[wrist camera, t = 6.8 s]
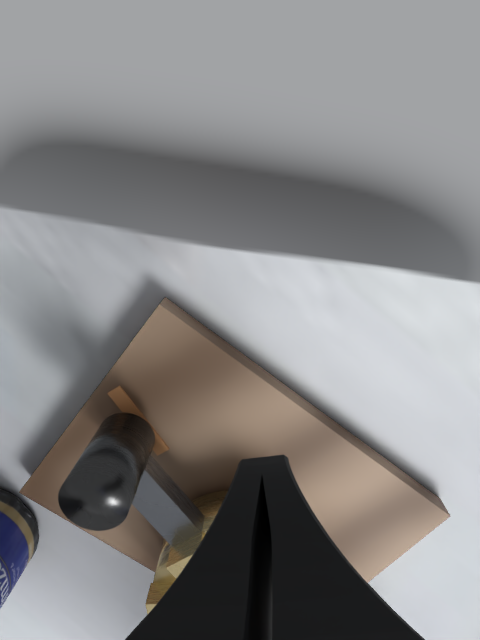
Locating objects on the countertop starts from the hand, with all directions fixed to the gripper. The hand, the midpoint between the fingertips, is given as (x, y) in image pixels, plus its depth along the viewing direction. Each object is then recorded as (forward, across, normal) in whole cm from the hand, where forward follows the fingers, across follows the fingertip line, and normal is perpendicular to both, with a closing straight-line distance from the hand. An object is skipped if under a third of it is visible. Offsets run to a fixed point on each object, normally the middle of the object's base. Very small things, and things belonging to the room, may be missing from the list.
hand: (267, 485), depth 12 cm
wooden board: (+8, +3, +7) cm, 11 cm away
